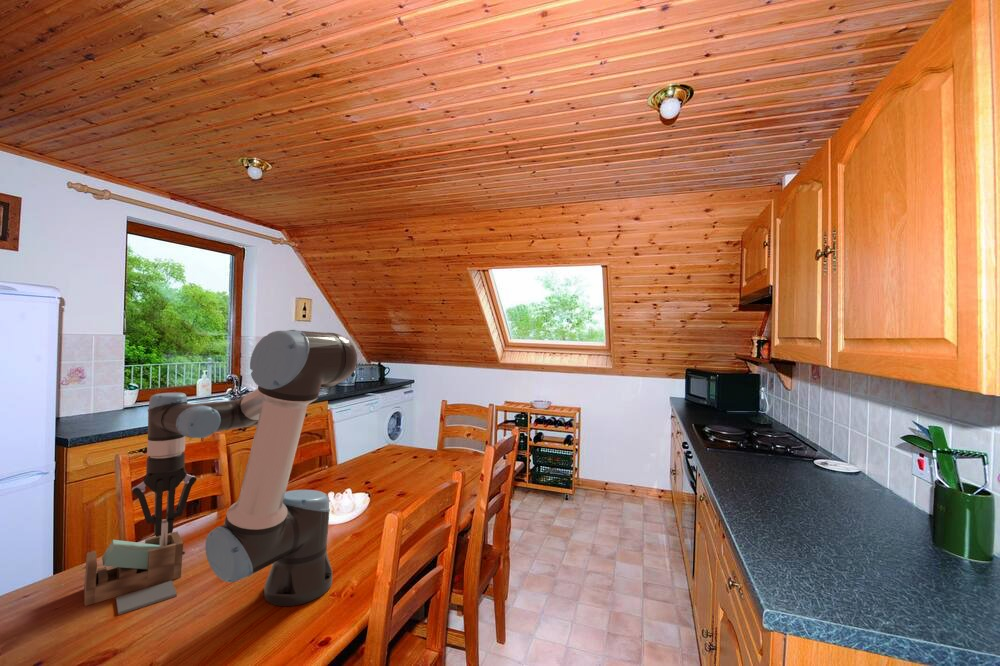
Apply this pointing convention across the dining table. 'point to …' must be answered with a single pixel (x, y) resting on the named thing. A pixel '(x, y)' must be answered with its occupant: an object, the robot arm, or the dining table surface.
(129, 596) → the slate pad
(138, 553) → the teal block
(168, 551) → the walnut jig
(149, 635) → the dining table surface
